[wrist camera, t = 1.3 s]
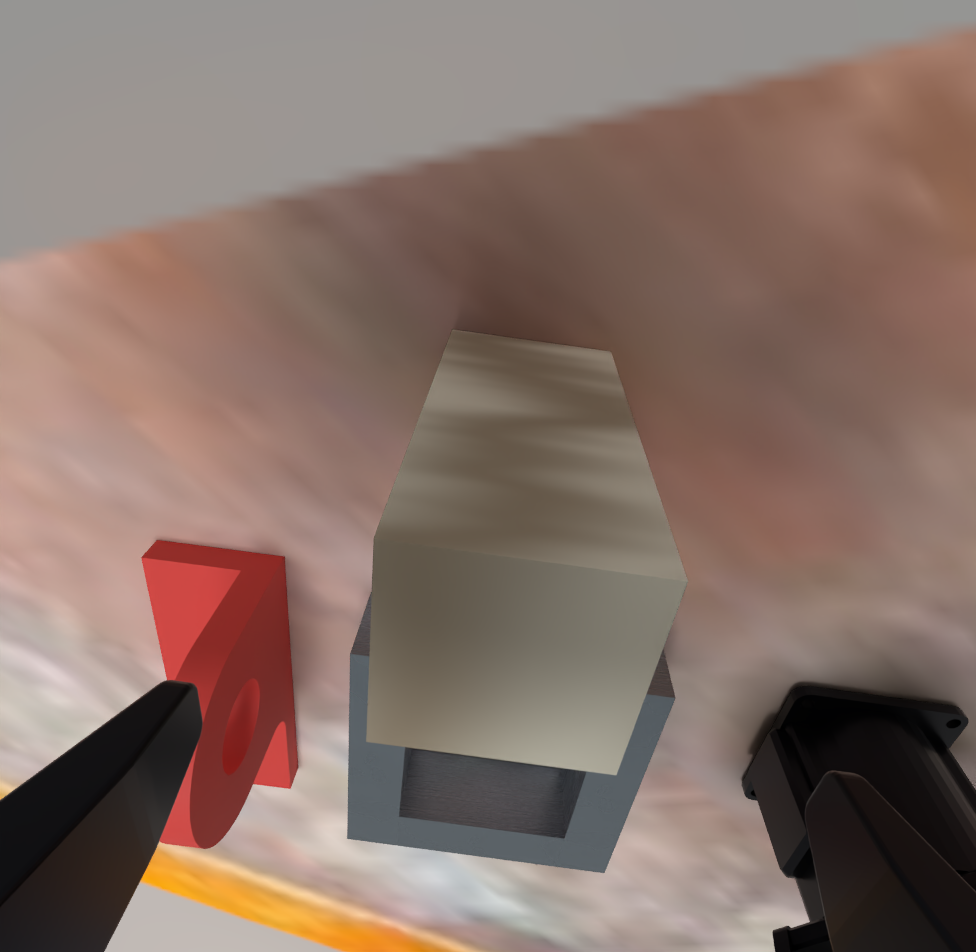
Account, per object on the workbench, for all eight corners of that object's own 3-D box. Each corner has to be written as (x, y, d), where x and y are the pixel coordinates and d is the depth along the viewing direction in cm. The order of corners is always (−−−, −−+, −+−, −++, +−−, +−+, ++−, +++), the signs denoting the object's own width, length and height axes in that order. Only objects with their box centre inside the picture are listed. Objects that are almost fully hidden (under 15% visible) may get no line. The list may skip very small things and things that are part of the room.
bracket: (158, 538, 22) (-10, 728, 15) (285, 554, 22) (174, 752, 15) (199, 752, 28) (91, 957, 21) (298, 765, 28) (223, 974, 21)
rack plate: (658, 631, 22) (676, 703, 20) (597, 802, 28) (604, 878, 25) (371, 591, 22) (348, 658, 20) (364, 771, 28) (346, 843, 25)
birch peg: (611, 351, 17) (687, 581, 9) (579, 487, 20) (616, 775, 11) (452, 329, 17) (373, 538, 9) (438, 467, 20) (366, 741, 11)
